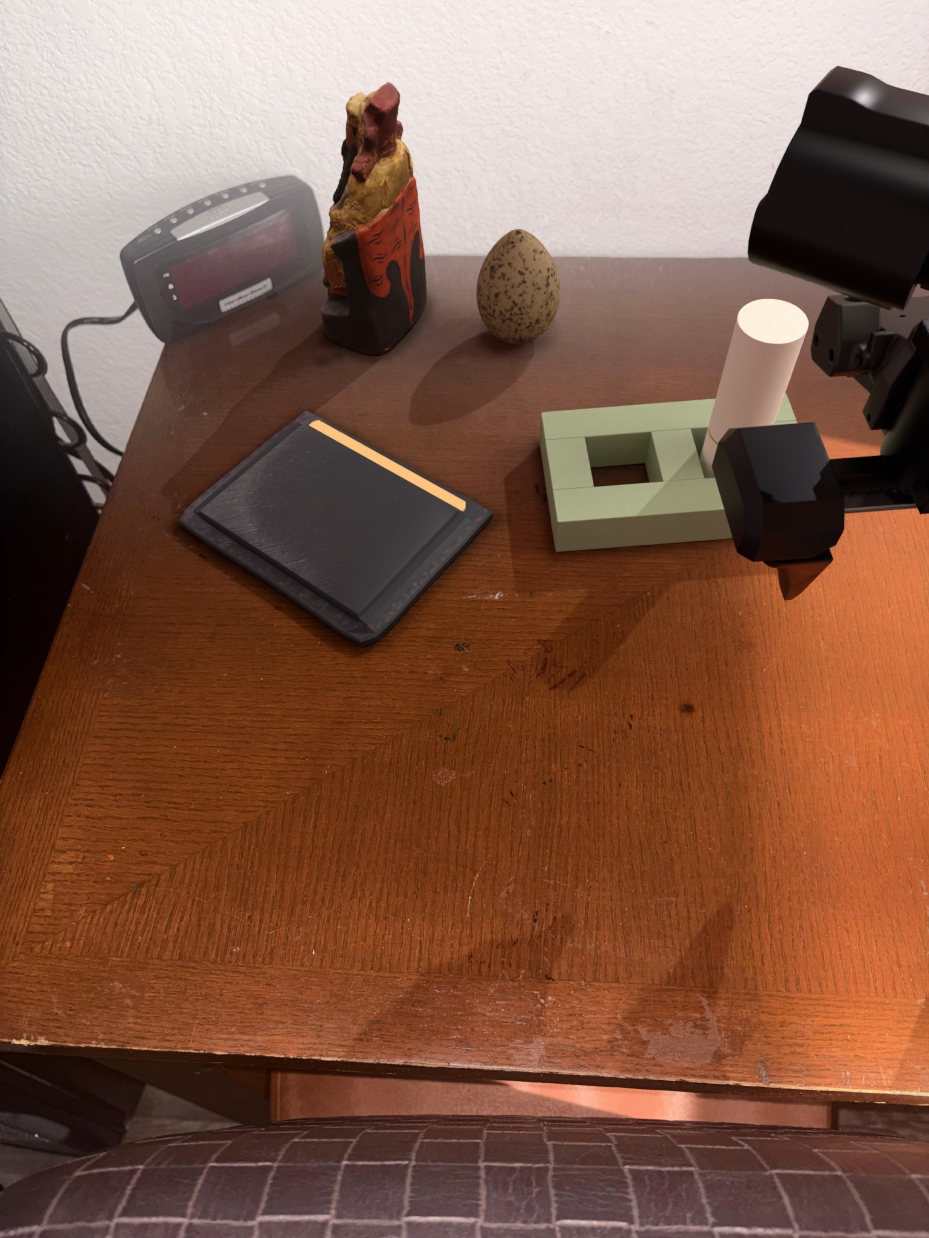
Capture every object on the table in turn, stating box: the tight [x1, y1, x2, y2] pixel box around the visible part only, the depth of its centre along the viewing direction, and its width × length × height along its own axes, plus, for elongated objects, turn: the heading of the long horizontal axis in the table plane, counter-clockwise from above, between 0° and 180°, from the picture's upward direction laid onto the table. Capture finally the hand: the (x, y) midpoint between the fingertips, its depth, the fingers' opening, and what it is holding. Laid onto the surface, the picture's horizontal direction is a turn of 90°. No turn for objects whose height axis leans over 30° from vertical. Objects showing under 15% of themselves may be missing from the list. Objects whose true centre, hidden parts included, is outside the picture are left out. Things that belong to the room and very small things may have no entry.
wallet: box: [177, 409, 494, 648], centre depth 64 cm, size 20×2×15 cm
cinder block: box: [539, 392, 798, 553], centre depth 64 cm, size 11×19×4 cm, turn 93°
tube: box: [699, 298, 810, 478], centre depth 59 cm, size 4×4×15 cm
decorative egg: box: [475, 228, 561, 344], centre depth 71 cm, size 7×7×10 cm
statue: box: [320, 81, 428, 356], centre depth 69 cm, size 12×8×20 cm, turn 149°
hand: (873, 585), depth 44 cm, fingers open, 9 cm apart
